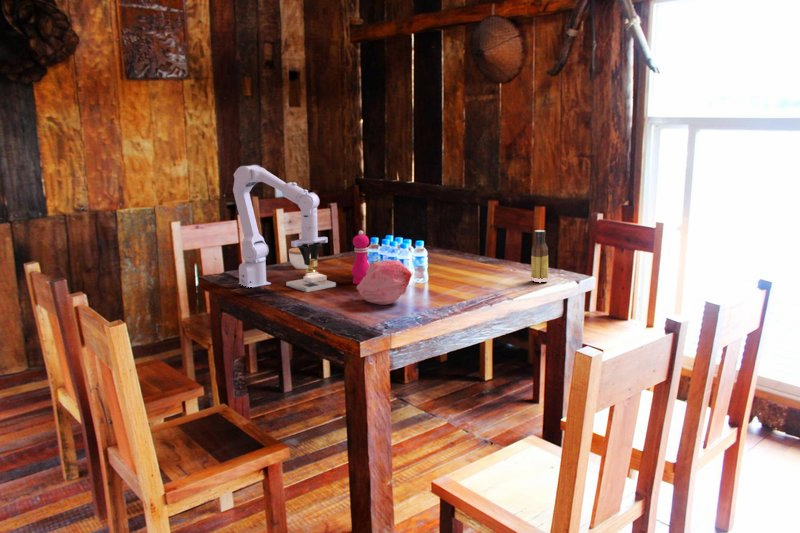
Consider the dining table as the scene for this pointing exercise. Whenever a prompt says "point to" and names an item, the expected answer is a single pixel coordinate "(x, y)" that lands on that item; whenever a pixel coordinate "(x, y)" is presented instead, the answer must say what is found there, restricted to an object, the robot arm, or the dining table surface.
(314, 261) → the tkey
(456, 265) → the dining table surface
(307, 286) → the panel
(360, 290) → the decorative rock
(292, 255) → the lidded jar
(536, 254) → the sauce bottle
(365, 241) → the pepper mill
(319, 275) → the cream flat block
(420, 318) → the dining table surface
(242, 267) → the robot arm
